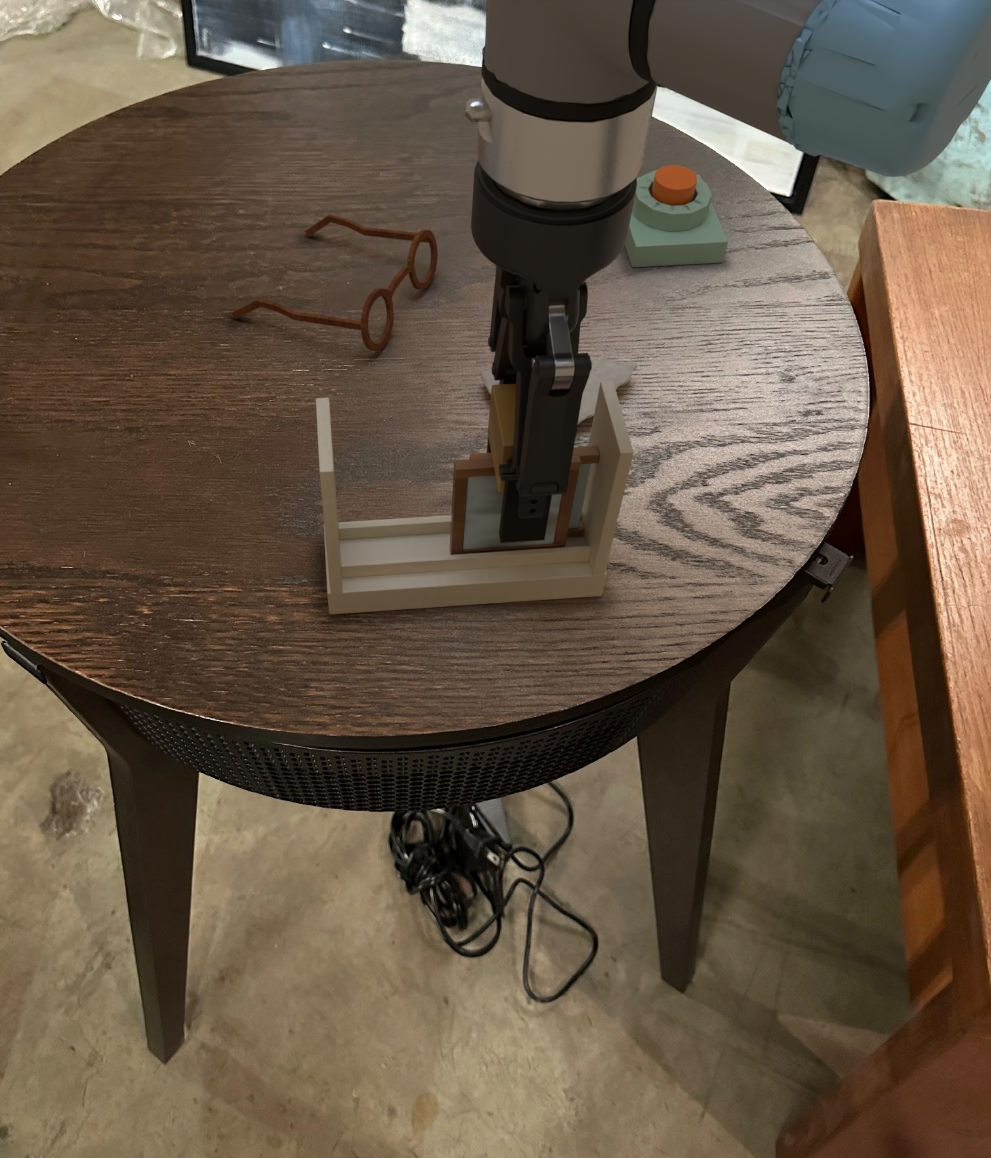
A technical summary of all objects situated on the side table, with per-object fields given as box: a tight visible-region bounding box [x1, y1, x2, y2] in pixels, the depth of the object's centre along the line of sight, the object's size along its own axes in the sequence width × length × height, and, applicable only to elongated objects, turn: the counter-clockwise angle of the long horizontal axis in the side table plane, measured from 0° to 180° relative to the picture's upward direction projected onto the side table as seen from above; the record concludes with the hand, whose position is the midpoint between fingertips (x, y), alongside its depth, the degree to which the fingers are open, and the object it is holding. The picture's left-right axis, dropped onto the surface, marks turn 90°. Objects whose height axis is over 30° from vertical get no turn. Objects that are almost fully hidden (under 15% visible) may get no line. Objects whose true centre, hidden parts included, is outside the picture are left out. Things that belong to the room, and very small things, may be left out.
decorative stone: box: [480, 359, 638, 425], centre depth 85 cm, size 8×12×3 cm
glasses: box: [231, 214, 439, 352], centre depth 91 cm, size 13×13×5 cm
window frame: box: [315, 381, 635, 615], centre depth 70 cm, size 18×6×14 cm, turn 95°
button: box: [651, 164, 697, 206], centre depth 95 cm, size 4×4×2 cm
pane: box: [449, 383, 581, 555], centre depth 68 cm, size 8×5×13 cm, turn 95°
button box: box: [624, 169, 729, 268], centre depth 97 cm, size 8×10×4 cm
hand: (514, 498), depth 69 cm, fingers open, 5 cm apart
